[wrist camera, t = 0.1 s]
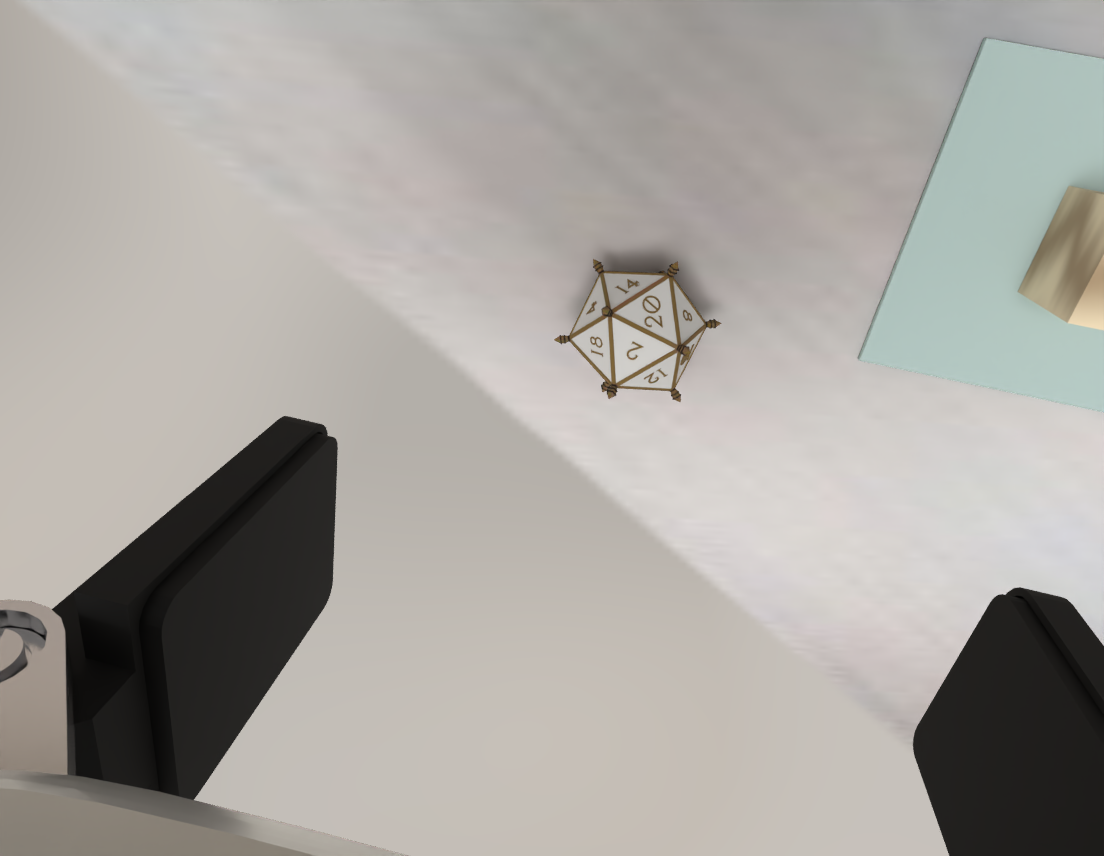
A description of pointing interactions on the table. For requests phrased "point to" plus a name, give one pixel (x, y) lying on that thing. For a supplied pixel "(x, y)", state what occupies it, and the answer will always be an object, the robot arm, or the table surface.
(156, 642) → the robot arm
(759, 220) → the table surface
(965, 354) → the mat
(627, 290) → the game die
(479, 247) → the table surface
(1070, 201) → the block
